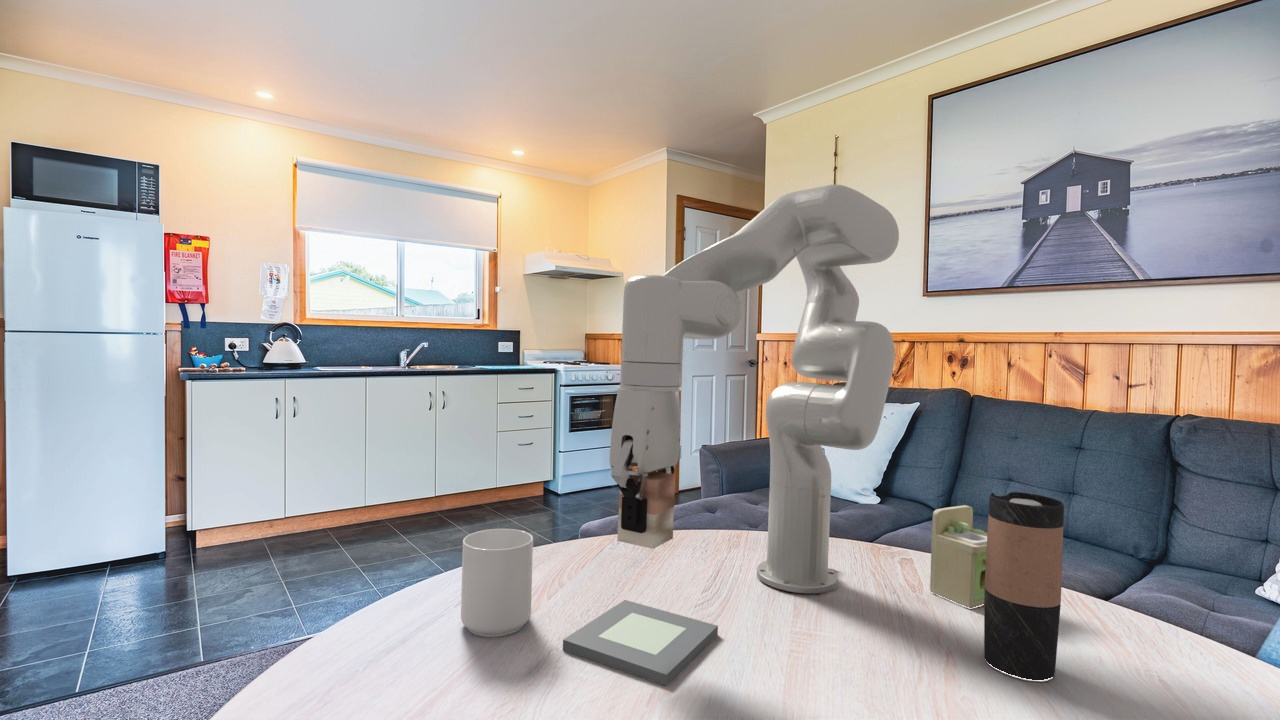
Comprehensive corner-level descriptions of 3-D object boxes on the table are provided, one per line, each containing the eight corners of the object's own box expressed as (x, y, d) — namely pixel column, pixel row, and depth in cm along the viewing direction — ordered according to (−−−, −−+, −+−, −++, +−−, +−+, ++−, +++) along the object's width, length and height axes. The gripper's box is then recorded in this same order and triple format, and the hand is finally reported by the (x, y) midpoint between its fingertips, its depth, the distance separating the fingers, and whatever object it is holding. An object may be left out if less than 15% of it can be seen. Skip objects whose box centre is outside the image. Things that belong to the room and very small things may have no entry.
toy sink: (973, 612, 87) (977, 521, 87) (928, 593, 94) (932, 508, 93) (1010, 603, 91) (1014, 516, 91) (965, 585, 97) (968, 504, 97)
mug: (520, 642, 74) (522, 551, 74) (449, 637, 75) (451, 547, 75) (543, 601, 86) (545, 523, 86) (482, 598, 87) (484, 520, 86)
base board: (624, 608, 85) (624, 599, 85) (717, 635, 78) (717, 625, 78) (562, 649, 73) (563, 639, 73) (666, 685, 65) (666, 674, 65)
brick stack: (638, 531, 78) (640, 469, 78) (672, 538, 76) (675, 474, 75) (617, 540, 74) (619, 475, 74) (653, 548, 71) (655, 480, 71)
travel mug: (1059, 691, 67) (1067, 510, 66) (979, 670, 71) (987, 499, 70) (1055, 662, 73) (1063, 497, 73) (983, 644, 77) (989, 488, 77)
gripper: (657, 375, 84) (652, 506, 84) (585, 377, 69) (579, 536, 69) (707, 378, 80) (702, 515, 80) (642, 380, 65) (636, 549, 65)
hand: (645, 523), depth 75 cm, fingers closed on brick stack, 5 cm apart
